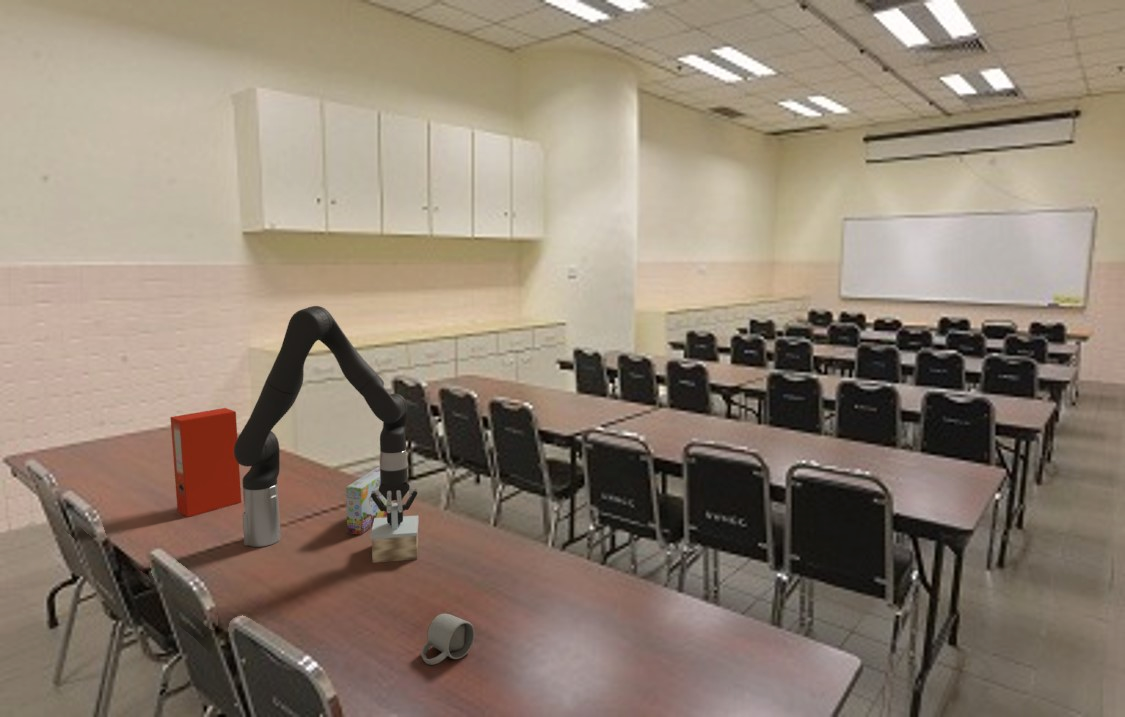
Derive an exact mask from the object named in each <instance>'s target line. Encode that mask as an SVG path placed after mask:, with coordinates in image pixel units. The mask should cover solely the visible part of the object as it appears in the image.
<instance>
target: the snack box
mask: <svg viewBox="0 0 1125 717" xmlns="http://www.w3.org/2000/svg"><path fill="white" fill-rule="evenodd" d="M379 486H380V466H377V467H376V468H374V469H373V470H371V471H369V472H368V473H366V474H364V475H363V476H362V477H360V478H359V479H356V480H355V481H354V482H352V483H350V484H349V485H347V486H346V487H345V489H346V490H345V491H346V492H345V494H346V533H347V534H353V535H359V536H361V535H363V534H364V533H365V532H367V531H368V530H370V529H372V527H373V522H374V518H385V517H387V513H386V512H385V511H380V509H379V508H378V506H377V505H376V503H375V502H374V501H373V499H372V498H371V493H372V491H376V490H378V489H379ZM379 498H380V499H381V500H382V502H383V503H384V505H385V506H387V500H386V499H385V498H384V496H383V495H382V494H381V493H380V497H379ZM393 503H394V501H392V504H393Z"/></svg>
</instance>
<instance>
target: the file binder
mask: <svg viewBox="0 0 1125 717" xmlns="http://www.w3.org/2000/svg"><path fill="white" fill-rule="evenodd" d="M169 420H170V429H171V430H170V431H171V441H172V454H173V455H172V456H173V467H174V480H175V494H176V506H177V507H176V508H177V512H178V513H180V514H182V515H183V516H185V517H186V518H190V516H191V517H194V516H198V515H201V514H205V513H209V512H212V511H215V509H216V510H218V509H219V508H220V509H222V507H223V508H226V506H227V507H230V506H233V504H234V505H237V504H241V503H242V492H241V491H242V490H241V489H242V488H241V475H240V464H239V463H238V462H237V461H236V459H235V456H234V446H235V443H236V441H237V439H238V426H237V424H238V423H237V412H236V411H235V410H233V409H229V408H226V407H222V408H217V409H210V410H205V411H198V412H194V413H186V414H180V415H175V416H174V415H173V416H170V417H169ZM240 502H241V503H240ZM211 510H212V511H211Z"/></svg>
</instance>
